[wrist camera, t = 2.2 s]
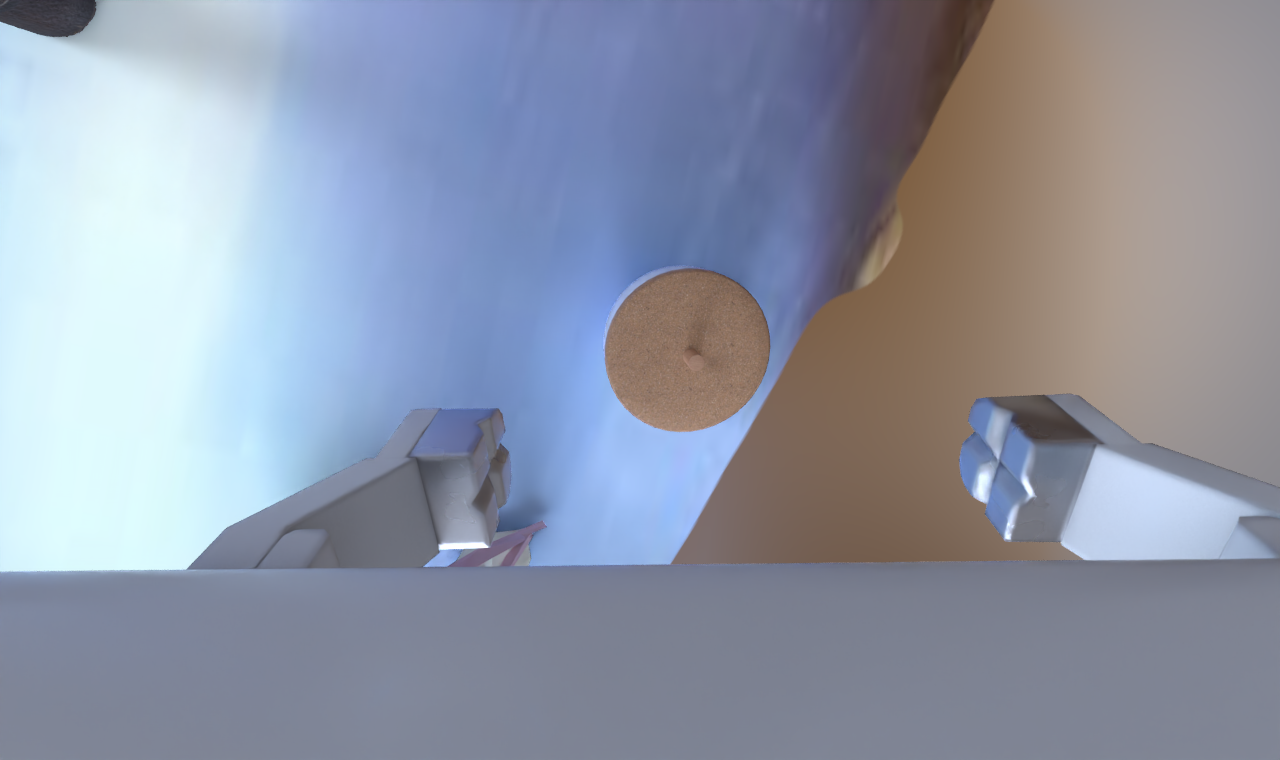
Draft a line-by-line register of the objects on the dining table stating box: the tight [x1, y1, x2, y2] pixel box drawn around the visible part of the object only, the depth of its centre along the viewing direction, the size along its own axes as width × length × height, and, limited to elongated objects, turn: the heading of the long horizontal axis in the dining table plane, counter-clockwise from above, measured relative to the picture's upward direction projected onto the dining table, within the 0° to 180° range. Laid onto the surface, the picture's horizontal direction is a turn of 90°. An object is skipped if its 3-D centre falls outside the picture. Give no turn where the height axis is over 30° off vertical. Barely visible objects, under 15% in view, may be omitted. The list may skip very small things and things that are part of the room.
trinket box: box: [603, 266, 770, 432], centre depth 41 cm, size 11×11×9 cm
